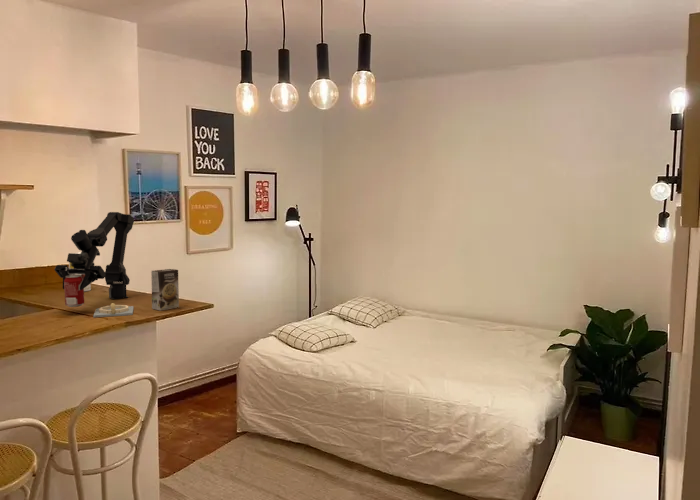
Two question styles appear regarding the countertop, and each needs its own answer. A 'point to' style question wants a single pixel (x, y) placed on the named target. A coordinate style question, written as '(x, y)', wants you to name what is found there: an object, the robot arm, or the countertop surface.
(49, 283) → the countertop surface
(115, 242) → the robot arm
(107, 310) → the flange board
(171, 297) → the cookie box
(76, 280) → the soda can
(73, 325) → the countertop surface
